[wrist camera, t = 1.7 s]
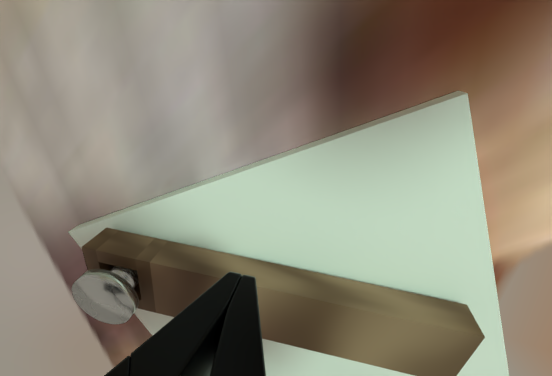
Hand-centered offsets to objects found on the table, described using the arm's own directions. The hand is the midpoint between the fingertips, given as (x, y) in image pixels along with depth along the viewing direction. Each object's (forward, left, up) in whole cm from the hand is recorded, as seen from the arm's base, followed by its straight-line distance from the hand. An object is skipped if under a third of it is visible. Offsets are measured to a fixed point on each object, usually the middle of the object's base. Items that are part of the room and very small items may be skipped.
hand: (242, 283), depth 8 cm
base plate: (-10, +2, -6) cm, 12 cm away
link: (-5, +2, -5) cm, 8 cm away
